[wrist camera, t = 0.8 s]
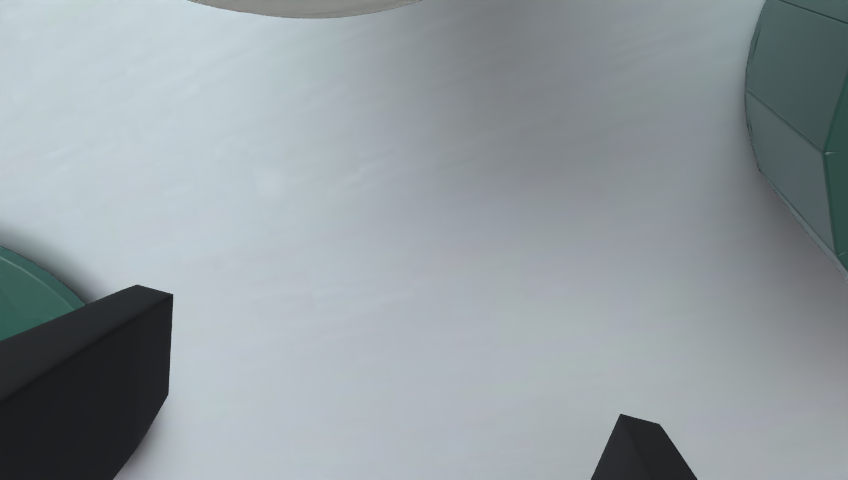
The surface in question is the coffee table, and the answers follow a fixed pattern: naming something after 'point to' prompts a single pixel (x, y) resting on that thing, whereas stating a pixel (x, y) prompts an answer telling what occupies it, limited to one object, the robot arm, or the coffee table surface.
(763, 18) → the pot
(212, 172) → the coffee table surface
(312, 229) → the coffee table surface
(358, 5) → the coffee cup
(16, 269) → the lid
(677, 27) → the coffee table surface
